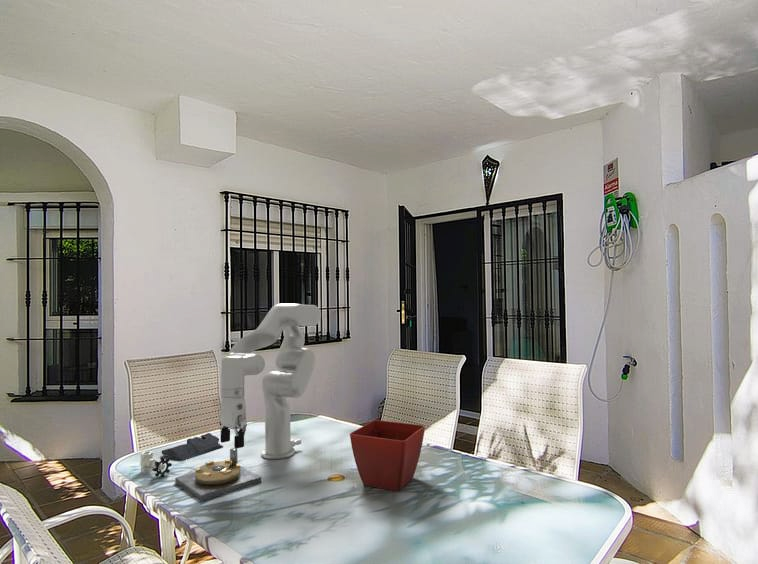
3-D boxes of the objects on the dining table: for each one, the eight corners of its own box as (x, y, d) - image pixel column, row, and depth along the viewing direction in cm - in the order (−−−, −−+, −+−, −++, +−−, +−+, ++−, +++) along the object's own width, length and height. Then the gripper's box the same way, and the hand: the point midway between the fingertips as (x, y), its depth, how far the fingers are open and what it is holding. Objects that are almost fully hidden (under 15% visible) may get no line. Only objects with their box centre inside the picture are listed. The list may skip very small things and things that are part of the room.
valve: (134, 473, 168) (153, 480, 161) (134, 454, 168) (153, 460, 161) (152, 467, 173) (172, 474, 166) (152, 449, 173) (171, 454, 167)
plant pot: (426, 475, 161) (425, 424, 161) (405, 498, 144) (404, 441, 144) (375, 467, 169) (374, 419, 169) (349, 488, 152) (348, 434, 152)
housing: (232, 467, 172) (232, 459, 172) (261, 482, 158) (261, 473, 158) (175, 483, 158) (175, 474, 158) (201, 501, 144) (201, 492, 144)
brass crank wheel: (207, 488, 148) (206, 463, 148) (188, 476, 158) (188, 453, 158) (248, 476, 158) (248, 452, 158) (228, 465, 168) (228, 443, 168)
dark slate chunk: (155, 456, 186) (155, 444, 186) (203, 441, 204) (203, 430, 204) (180, 463, 178) (179, 450, 178) (227, 447, 196) (227, 435, 196)
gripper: (255, 394, 158) (255, 447, 158) (230, 388, 171) (230, 437, 170) (234, 397, 153) (234, 452, 152) (210, 391, 166) (209, 441, 165)
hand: (232, 444), depth 161 cm, fingers open, 9 cm apart
